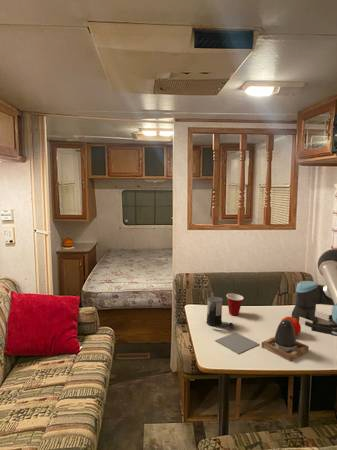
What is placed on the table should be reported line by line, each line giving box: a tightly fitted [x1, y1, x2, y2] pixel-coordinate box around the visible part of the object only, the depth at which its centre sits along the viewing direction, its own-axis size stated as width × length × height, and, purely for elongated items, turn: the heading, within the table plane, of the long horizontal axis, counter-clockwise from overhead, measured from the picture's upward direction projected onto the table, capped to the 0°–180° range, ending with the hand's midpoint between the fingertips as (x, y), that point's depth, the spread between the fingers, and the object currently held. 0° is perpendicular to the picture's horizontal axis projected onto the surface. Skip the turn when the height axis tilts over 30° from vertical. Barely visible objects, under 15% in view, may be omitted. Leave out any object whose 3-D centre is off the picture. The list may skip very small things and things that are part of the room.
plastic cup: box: [226, 293, 244, 317], centre depth 199 cm, size 11×11×12 cm
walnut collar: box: [261, 336, 310, 362], centre depth 158 cm, size 16×16×2 cm
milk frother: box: [205, 296, 236, 328], centre depth 183 cm, size 14×16×15 cm
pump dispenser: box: [274, 319, 297, 353], centre depth 157 cm, size 10×10×15 cm
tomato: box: [281, 316, 302, 336], centre depth 174 cm, size 11×11×9 cm
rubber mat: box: [214, 331, 260, 355], centre depth 163 cm, size 16×16×1 cm
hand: (307, 316), depth 147 cm, fingers open, 13 cm apart
